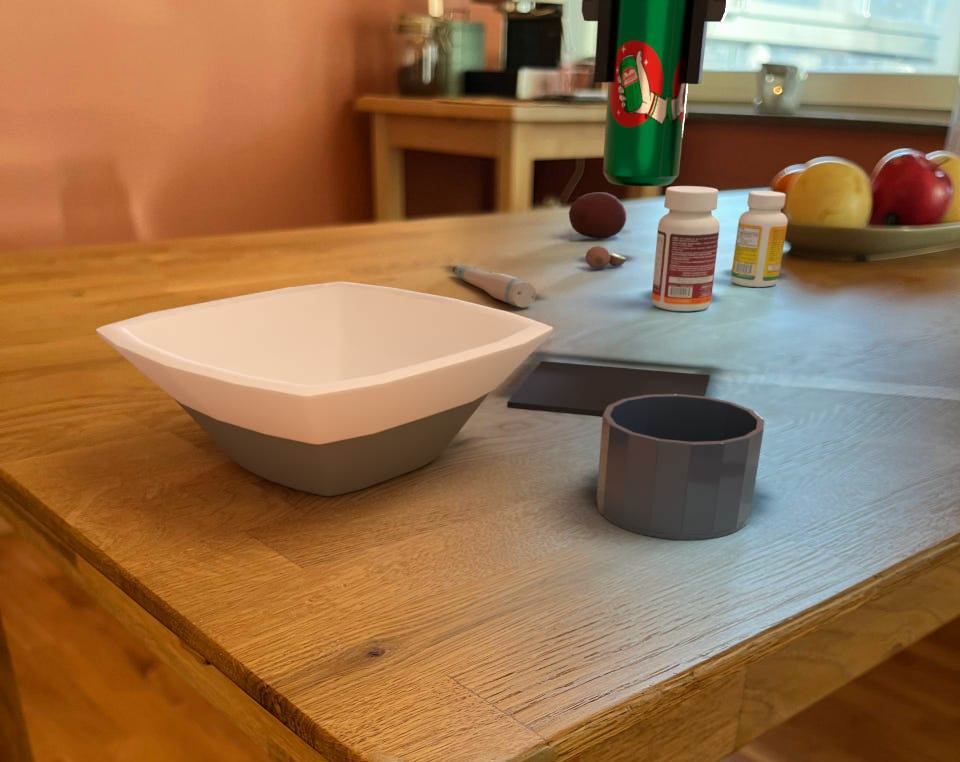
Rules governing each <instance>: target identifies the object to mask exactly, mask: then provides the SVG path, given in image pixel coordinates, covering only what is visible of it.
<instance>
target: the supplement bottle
mask: <svg viewBox="0 0 960 762" xmlns="http://www.w3.org/2000/svg"><path fill="white" fill-rule="evenodd" d="M785 205H786V193H784V192H781V191H770V190H754V191H749V193H748V197H747V207H748V210H746V211H744V212H743V213H741V214H740V216H739V218H738V223H737V229H736V237H735V244H734V245H735V246H734V253H733V259H732V265H731V274H730V280H731V282H732V283H733V284H735V285H738V286H743V287H749V288H767V287H773V286H775V285H777V284H778V282H779V277H780V272H781V266H782V259H783V254H784V253H783V252H784V246H785V241H786V235H787V229H788V217H787V215H785V214H784V213H783V212H782V209H784V206H785Z"/></svg>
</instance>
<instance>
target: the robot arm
mask: <svg viewBox="0 0 960 762" xmlns="http://www.w3.org/2000/svg"><path fill="white" fill-rule="evenodd" d="M613 4H614V0H581V14H582V19H583V21H584V22H597V24H596V25H597V26H596V43H595V58H594V60H595V61H594V76H593V78H594V80H593V83H608V81H609V66H610V50H611V35H612V19H613ZM728 5H729V0H694V5H693V16H692V26H691V36H690V47H689V57H688V67H687V78H686V84H688V85H699V84H700V85H701V84H702V80H703V72H704V71H703V70H704V69H703V68H704V60H705V53H706V52H705V50H706V41H707V33H708V32H707V31H708V30H707V29H708V23H723V22H724V20H725V18H726V15H727V13H728Z"/></svg>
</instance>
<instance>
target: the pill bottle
mask: <svg viewBox="0 0 960 762" xmlns="http://www.w3.org/2000/svg"><path fill="white" fill-rule="evenodd" d="M718 197H719V190H718V189H717V188H714V187H708V186H696V185H695V186H694V185H676V186H675V185H674V186H669V187H667V188H666V189H665V196H664V198H665V199H664V203H663V207H664V208H665V209H668V210H669V211H668V213H666V214H664V215H663V216H662V217H661V218H660V219H659V221H658V225H657V232H656V233H657V234H656V243H655V244H656V245H655V257H654V267H653V280H652V291H651V303H652V304H653V306H655V307H656V308H659V309H660V310H661V309H662V310H665V311H670V312H671V311H672V312H697V311H704V310H706V309H708V308H710V306H711V303H712V297H713V289H714V281H715V272H716V263H717V253H718V246H719V237H720V227H721V226H720V225H721V224H720V221H719V219H718V218H717V217H716V216H715V215H713V214H712V211H715V210H716V209H718V199H719V198H718Z"/></svg>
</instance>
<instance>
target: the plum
mask: <svg viewBox="0 0 960 762" xmlns="http://www.w3.org/2000/svg"><path fill="white" fill-rule="evenodd" d="M568 218H569V222H570V225H571V228H572V229H573V230H574V231H575V232H576V233H577V234H579V235H581V236H584V237H587V238H591V239H599V240H600V239H608V238H611V237H614V236H616V235H617V234H619V233H621V231H622V230H623V228H624V227H625V225H626V222H627V211H626V208H625V206H624V204H623V203H622V201H621V200H620V199H618V198H617V196H615V195H613V194H611V193H608V192H604V191H603V192H602V191H601V192H600V191H595V192H591V193H586V194H584V195H581V196H579V197H578V198H577V199H575V201H574V202H573V203H571V205H570V208H569V211H568Z"/></svg>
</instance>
